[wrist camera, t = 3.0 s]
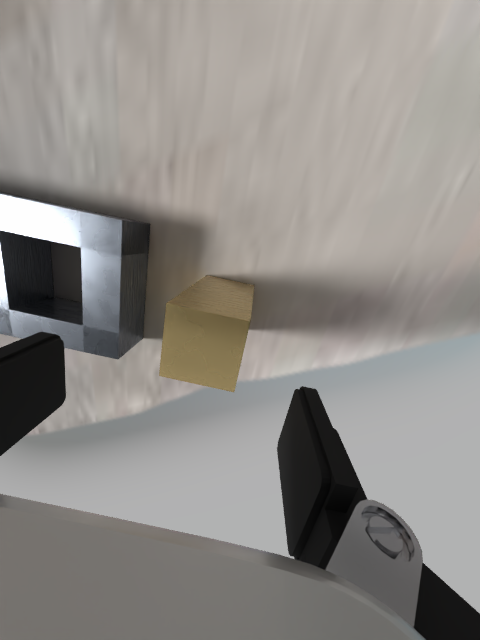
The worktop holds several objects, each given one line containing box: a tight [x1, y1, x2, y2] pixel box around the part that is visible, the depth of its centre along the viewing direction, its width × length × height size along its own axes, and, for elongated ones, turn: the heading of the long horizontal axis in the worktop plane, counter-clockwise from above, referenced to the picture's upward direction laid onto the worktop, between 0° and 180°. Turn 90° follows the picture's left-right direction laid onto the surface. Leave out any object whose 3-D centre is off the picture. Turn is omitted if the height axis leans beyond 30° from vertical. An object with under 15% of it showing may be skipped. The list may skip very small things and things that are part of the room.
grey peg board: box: [0, 192, 150, 359], centre depth 18 cm, size 20×10×4 cm, turn 79°
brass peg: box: [159, 275, 254, 392], centre depth 16 cm, size 4×4×9 cm
